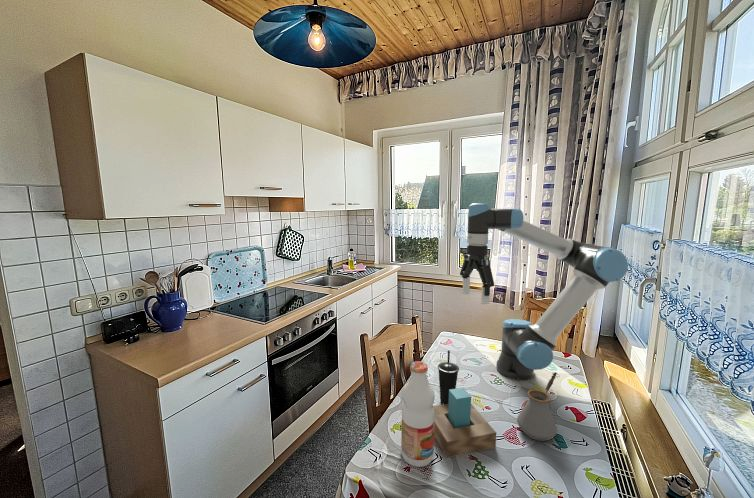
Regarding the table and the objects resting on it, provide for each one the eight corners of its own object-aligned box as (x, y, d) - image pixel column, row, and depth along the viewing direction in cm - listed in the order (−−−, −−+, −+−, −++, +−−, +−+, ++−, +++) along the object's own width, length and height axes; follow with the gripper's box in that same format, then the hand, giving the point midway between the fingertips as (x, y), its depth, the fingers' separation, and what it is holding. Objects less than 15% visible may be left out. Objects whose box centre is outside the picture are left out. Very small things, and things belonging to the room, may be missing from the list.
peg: (461, 426, 102) (463, 387, 100) (469, 437, 97) (471, 396, 96) (447, 429, 101) (449, 389, 99) (454, 440, 96) (456, 398, 94)
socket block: (467, 413, 109) (468, 400, 108) (495, 447, 93) (496, 432, 93) (425, 420, 105) (425, 407, 104) (446, 457, 90) (447, 441, 89)
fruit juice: (406, 439, 97) (407, 354, 93) (436, 447, 93) (438, 360, 90) (396, 462, 88) (397, 370, 84) (429, 472, 85) (432, 376, 81)
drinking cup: (458, 409, 111) (460, 356, 108) (436, 406, 113) (438, 354, 110) (457, 396, 119) (459, 347, 116) (436, 394, 120) (438, 345, 117)
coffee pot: (548, 451, 92) (552, 405, 90) (510, 431, 100) (513, 388, 98) (571, 419, 106) (575, 378, 104) (536, 403, 114) (539, 365, 112)
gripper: (452, 241, 129) (451, 290, 132) (487, 249, 105) (484, 309, 108) (468, 240, 131) (466, 289, 133) (507, 248, 107) (503, 307, 109)
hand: (474, 298), depth 121 cm, fingers open, 13 cm apart
